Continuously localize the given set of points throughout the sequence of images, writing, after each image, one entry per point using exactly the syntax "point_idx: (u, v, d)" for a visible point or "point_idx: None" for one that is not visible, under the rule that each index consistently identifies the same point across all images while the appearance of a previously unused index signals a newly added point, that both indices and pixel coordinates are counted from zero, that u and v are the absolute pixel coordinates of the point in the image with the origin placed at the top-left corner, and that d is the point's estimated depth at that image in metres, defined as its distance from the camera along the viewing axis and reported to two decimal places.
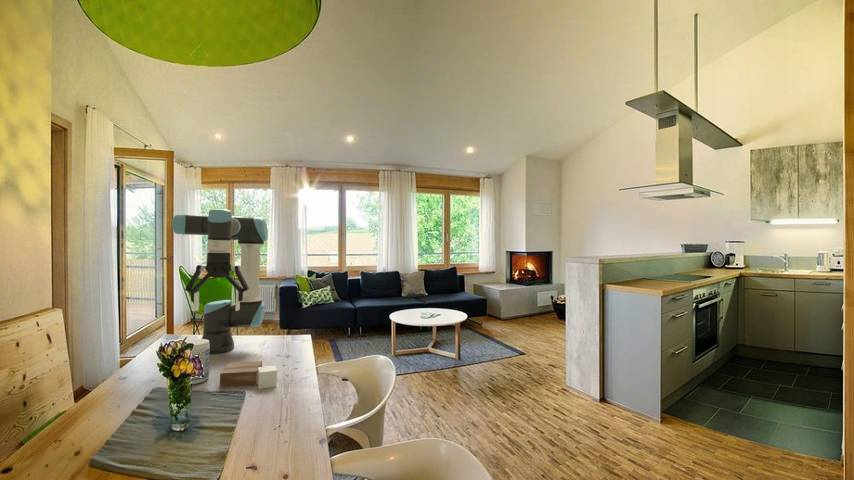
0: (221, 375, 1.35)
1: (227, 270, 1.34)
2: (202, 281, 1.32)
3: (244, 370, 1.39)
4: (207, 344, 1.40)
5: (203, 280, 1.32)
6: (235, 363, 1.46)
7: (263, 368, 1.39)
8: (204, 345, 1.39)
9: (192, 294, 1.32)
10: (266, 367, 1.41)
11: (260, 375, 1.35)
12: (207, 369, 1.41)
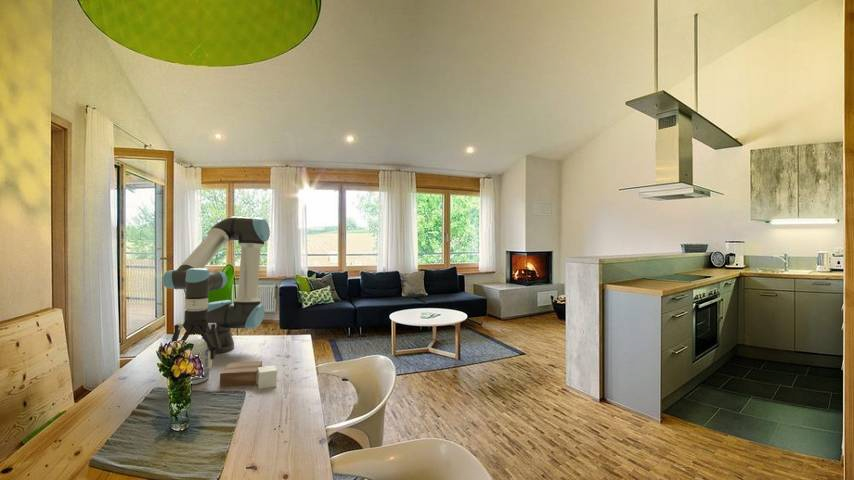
0: (221, 375, 1.35)
1: (204, 327, 1.40)
2: None
3: (244, 370, 1.39)
4: None
5: (183, 338, 1.38)
6: (235, 363, 1.46)
7: (263, 368, 1.39)
8: (204, 345, 1.39)
9: None
10: (266, 367, 1.41)
11: (260, 375, 1.35)
12: (207, 369, 1.41)
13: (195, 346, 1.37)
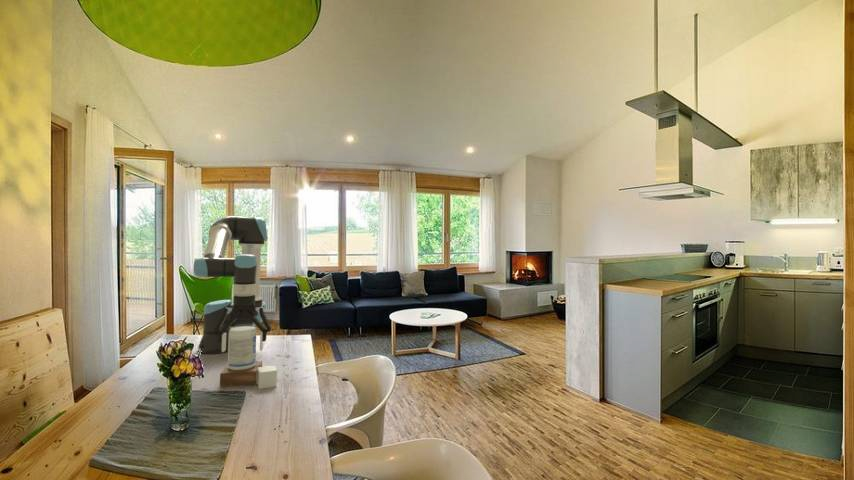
0: (221, 375, 1.35)
1: (252, 312, 1.42)
2: (229, 323, 1.40)
3: (244, 370, 1.39)
4: (254, 331, 1.43)
5: (230, 322, 1.40)
6: None
7: (263, 368, 1.39)
8: (252, 332, 1.41)
9: (220, 336, 1.40)
10: (266, 367, 1.41)
11: (260, 375, 1.35)
12: (254, 355, 1.43)
13: (244, 332, 1.39)
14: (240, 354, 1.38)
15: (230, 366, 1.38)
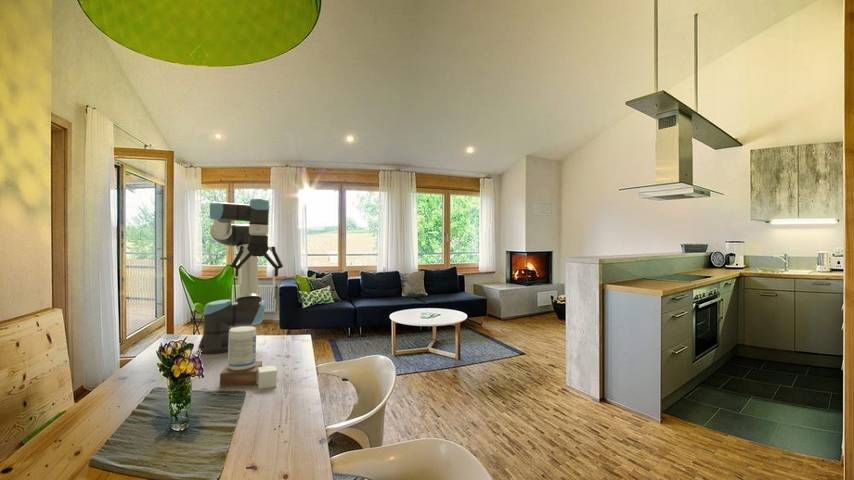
0: (221, 375, 1.35)
1: (265, 250, 1.59)
2: (245, 259, 1.57)
3: (244, 370, 1.39)
4: (254, 331, 1.43)
5: (245, 258, 1.57)
6: None
7: (263, 368, 1.39)
8: (252, 332, 1.41)
9: (236, 270, 1.57)
10: (266, 367, 1.41)
11: (260, 375, 1.35)
12: (254, 355, 1.43)
13: (244, 332, 1.39)
14: (240, 354, 1.38)
15: (230, 366, 1.38)
